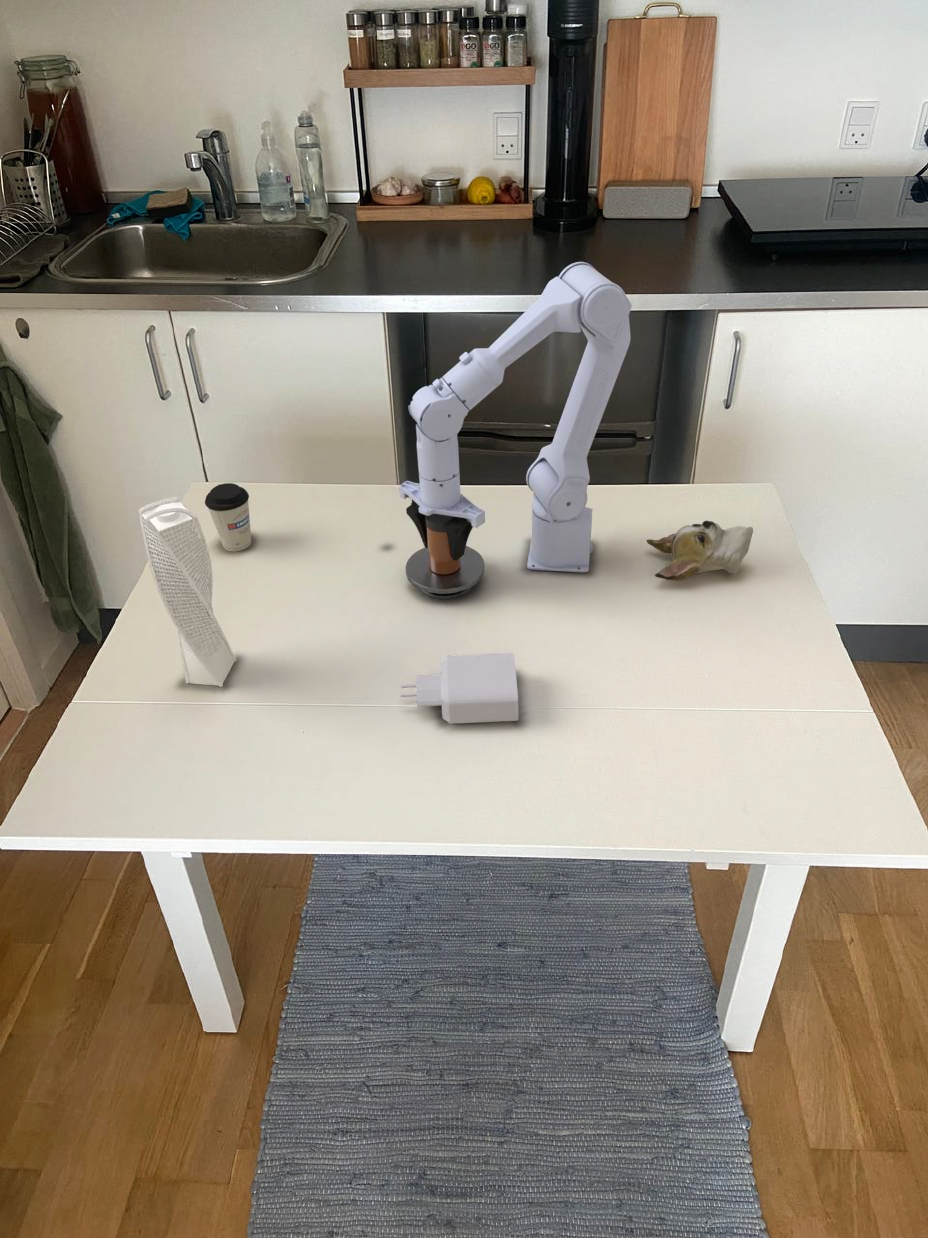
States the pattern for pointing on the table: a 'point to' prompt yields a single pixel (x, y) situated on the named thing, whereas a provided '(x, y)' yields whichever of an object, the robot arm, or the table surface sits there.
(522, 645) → the table surface
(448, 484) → the robot arm
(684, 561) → the ceramic sculpture
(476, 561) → the steel stand
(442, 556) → the spice jar
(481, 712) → the charger
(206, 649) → the skyscraper
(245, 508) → the coffee cup
